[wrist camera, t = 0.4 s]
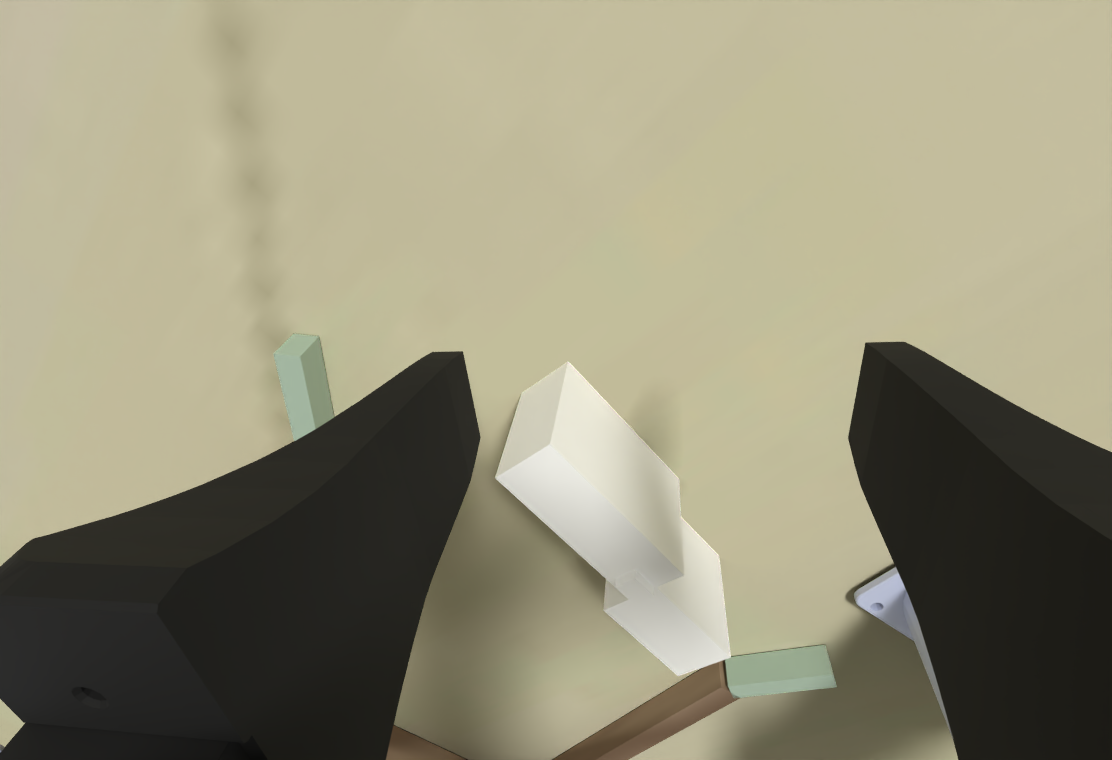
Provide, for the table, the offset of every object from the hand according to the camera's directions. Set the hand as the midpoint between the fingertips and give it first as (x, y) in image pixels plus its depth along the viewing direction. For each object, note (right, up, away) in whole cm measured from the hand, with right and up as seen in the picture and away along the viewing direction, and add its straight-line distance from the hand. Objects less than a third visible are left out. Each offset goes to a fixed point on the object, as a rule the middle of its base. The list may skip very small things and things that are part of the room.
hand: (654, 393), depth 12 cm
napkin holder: (+1, -4, +15) cm, 15 cm away
